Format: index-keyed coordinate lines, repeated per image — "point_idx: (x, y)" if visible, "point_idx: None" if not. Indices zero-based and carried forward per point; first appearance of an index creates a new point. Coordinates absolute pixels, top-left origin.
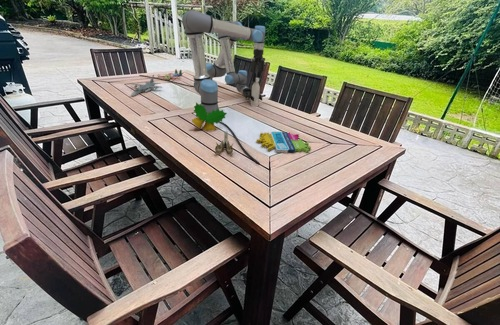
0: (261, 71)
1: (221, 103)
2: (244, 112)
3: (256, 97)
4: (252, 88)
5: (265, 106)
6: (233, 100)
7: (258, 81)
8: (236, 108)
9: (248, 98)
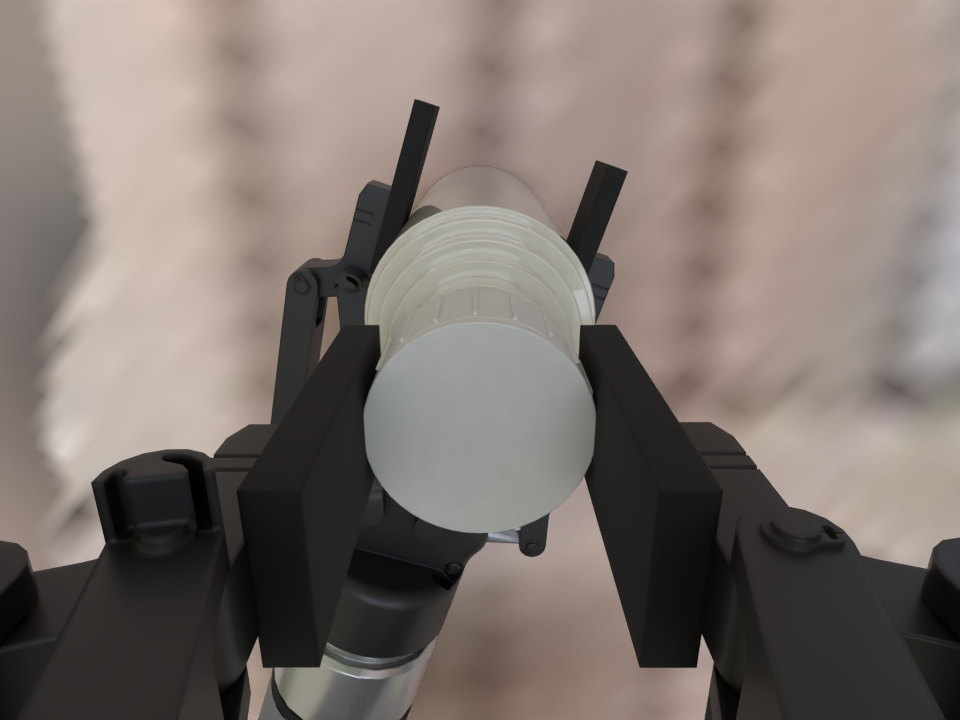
0: (145, 537)
1: None
2: (923, 7)
3: (516, 187)
4: None
5: (361, 70)
6: (597, 555)
7: (463, 292)
8: (855, 248)
9: None
